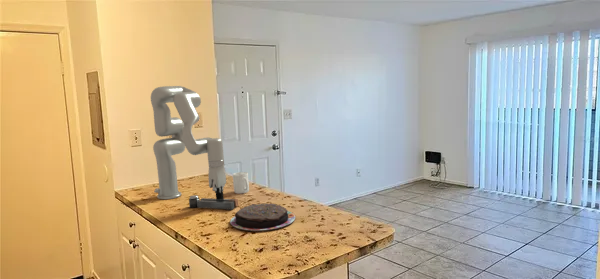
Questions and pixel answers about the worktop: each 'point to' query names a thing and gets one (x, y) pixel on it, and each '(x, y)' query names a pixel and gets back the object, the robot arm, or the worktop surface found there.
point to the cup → (241, 182)
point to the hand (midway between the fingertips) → (220, 200)
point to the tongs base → (211, 204)
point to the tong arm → (216, 199)
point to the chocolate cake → (262, 218)
